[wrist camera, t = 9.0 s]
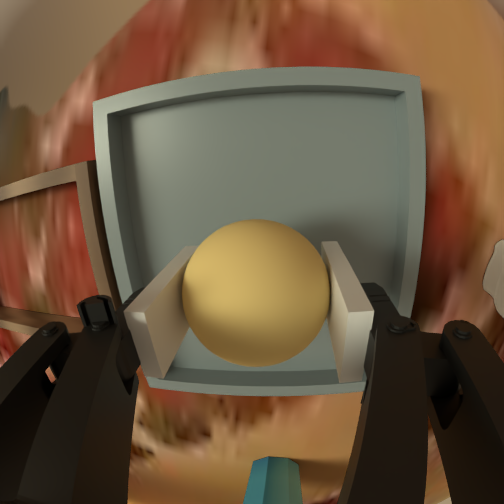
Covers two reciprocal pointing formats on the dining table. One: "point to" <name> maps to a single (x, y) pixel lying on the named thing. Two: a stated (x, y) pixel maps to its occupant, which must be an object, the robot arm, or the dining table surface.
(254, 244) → the ball
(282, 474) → the cup
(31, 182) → the frame
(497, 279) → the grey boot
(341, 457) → the dining table surface
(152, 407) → the dining table surface
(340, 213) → the tray
